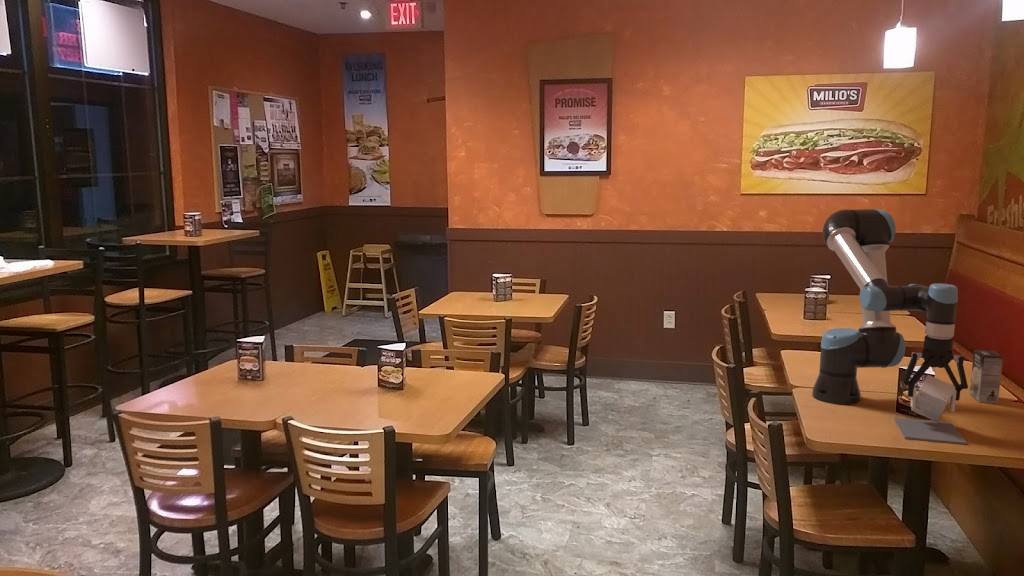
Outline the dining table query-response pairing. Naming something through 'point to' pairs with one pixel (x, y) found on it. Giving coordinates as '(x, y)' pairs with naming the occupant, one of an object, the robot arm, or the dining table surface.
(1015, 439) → the dining table surface
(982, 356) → the coffee box
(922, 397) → the small box
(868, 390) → the dining table surface
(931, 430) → the slate mat
